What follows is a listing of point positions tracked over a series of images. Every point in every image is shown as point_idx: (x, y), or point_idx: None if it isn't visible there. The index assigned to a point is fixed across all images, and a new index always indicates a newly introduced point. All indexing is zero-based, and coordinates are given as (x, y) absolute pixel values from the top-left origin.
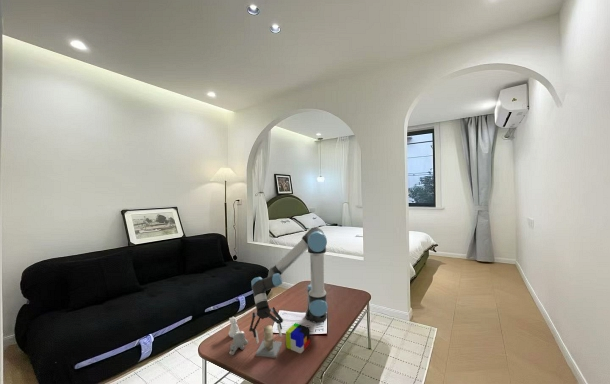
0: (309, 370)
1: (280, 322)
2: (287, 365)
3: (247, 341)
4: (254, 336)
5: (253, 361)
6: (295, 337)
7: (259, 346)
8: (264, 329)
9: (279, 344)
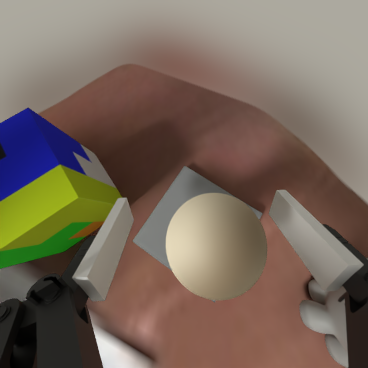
0: (108, 81)
1: (47, 277)
2: (159, 121)
3: (307, 312)
4: (330, 227)
5: (268, 184)
6: (57, 143)
7: None
8: (260, 226)
9: (149, 227)
